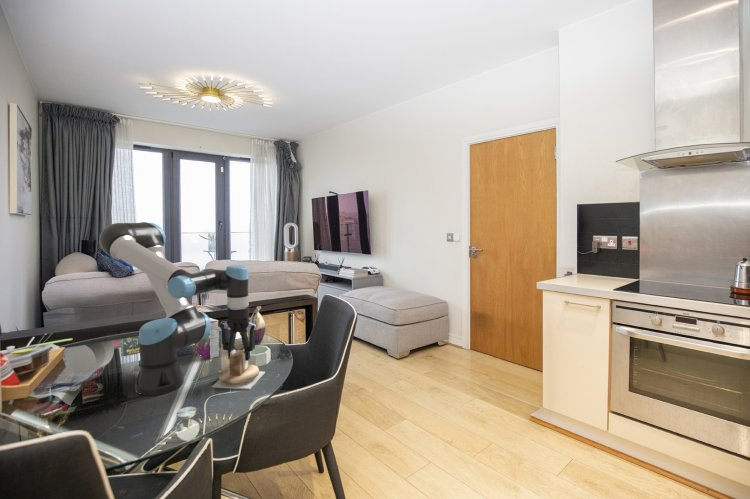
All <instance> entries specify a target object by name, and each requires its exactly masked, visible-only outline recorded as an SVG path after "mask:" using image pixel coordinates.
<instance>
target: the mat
mask: <svg viewBox="0 0 750 499" xmlns="http://www.w3.org/2000/svg"><path fill="white" fill-rule="evenodd" d="M265 373H266V371H265V370H264V371H261V370H259V374H258V376H257V377H255V378H254V379H252V380H249V381H246V382H241V383H225V382H222V381H221V380H220V379H218V380H217V381H216V382H215V383H214V384H213V385H211V387H212V388H215V389H231V390H232V389H235V390H251V389H252V388H253V387H254V386H255V384H256V383H257V382H258V381H259V380H260V379H261V378H262V377H263V376H264V374H265Z"/></svg>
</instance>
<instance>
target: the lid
mask: <svg viewBox="0 0 750 499" xmlns="http://www.w3.org/2000/svg"><path fill="white" fill-rule="evenodd" d="M243 352H244V350H243V349H238V350H236V352H235V353H234V354H233V355H231V356H230V357H229V359H228V361H229V366H227V367H226V368H223V369H222V370H221V371H220V372H219V376H218V380H221V381H222V382H225V383H241V382H246V381H249V380H252V379H254V378H255V377H257V376H258V374H259V371H260V369H259V367H257V366H255V365H251V364H249V360H248V367H247V368H246V369H245V370H243V354H242V353H243Z"/></svg>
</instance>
